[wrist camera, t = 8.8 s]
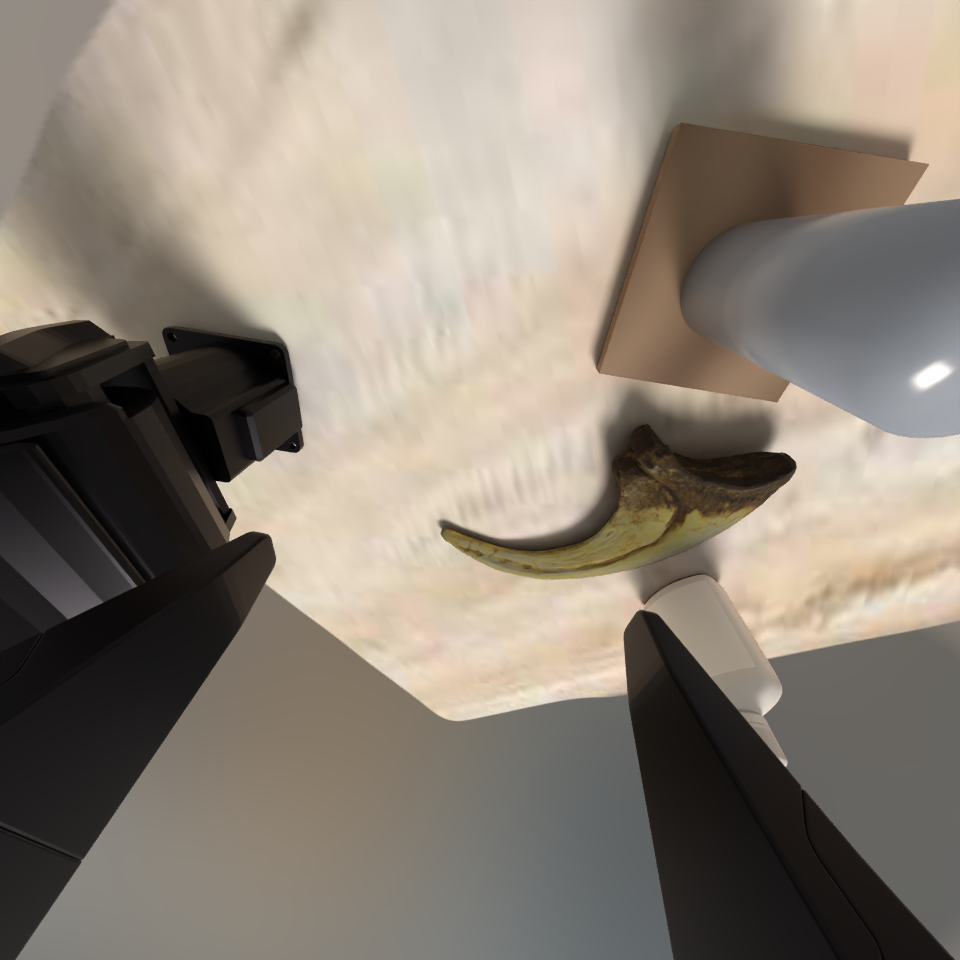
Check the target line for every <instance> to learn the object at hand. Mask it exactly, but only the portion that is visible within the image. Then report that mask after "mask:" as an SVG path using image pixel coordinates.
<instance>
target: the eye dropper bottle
mask: <svg viewBox="0 0 960 960" xmlns="http://www.w3.org/2000/svg"><path fill="white" fill-rule="evenodd" d="M644 610H645V611H650V612H654V613H657V614H658V615H659V616H660V617H661V618H662V619H663V620H664V622H665V623H666V624H667V625H668V626H669V628H670V629H671V630H672V631H673V632H674V634H675V635H676V636H677V637H678V638H679V640H680V641H681V642H682V643H683V644H684V646H685V647H686V648H687V649H688V650H689V652H690V653H691V654H692V655H693V656H694V658H695V659H696V660H697V661H698V662H699V664H700V665H701V666H702V667H703V668H704V670H705V671H706V672H707V673H708V674H709V676H710V677H711V678H712V679H713V680H714V682H715V683H716V684H717V685H718V686H719V688H720V689H721V690H722V691H723V692H724V694H725V695H726V696H727V697H728V698H729V700H730V701H731V702H732V703H733V704H734V706H735V707H736V708H737V709H738V710H739V712H740V713H741V714H742V715H743V716H744V718H745V719H746V720H747V721H748V722H749V724H750V725H751V726H752V727H753V728H754V730H755V731H756V732H757V733H758V734H759V736H760V737H761V738H762V739H763V740H764V742H765V743H766V744H767V745H768V746H769V748H770V749H771V750H772V751H773V752H774V754H775V755H776V756H777V757H778V758H779V760H780V761H781V762H782V763H783V764H784V766H785V767H786V766H787V763H788V762H787V759H786V757H785V755H784V753H783V752H782V750H781V748H780V746H779V744H778V742H777V740H776V738H775V736H774V735H773V733H772V731H771V729H770V727H769V725H768V723H767V721H766V720H765V718H764V717H763V715H764V714H766V713H767V712H768V711H769V710H770V709H771V708H772V707H773V706H774V705H775V704H776V703H777V702H778V700H779V699H780V697H781V695H782V686H781V683H780V681H779V679H778V677H777V675H776V674H775V672H774V670H773V669H772V667H771V665H770V664H769V662H768V660H767V658H766V657H765V655H764V653H763V652H762V650H761V648H760V647H759V645H758V644H757V642H756V640H755V639H754V637H753V635H752V634H751V632H750V630H749V629H748V627H747V626H746V624H745V622H744V621H743V619H742V617H741V616H740V614H739V613H738V611H737V609H736V608H735V606H734V604H733V603H732V601H731V599H730V598H729V596H728V595H727V593H726V591H725V590H724V588H723V587H722V586H721V585H720V584H719V583H717V582H716V581H715V580H714V579H713V578H711V577H710V576H707V575H696V576H692V577H688V578H685V579H682V580H679V581H676V582H674V583H672V584H670V585H668V586H666V587H664V588H663V589H661V590H660V591H658V592H657V593H656V594H655V595H653V596H652V597H651V598H650V599H649V600H648V601H647V603H646V604H645V608H644Z"/></svg>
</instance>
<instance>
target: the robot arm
mask: <svg viewBox="0 0 960 960" xmlns="http://www.w3.org/2000/svg"><path fill="white" fill-rule="evenodd" d="M162 334H163V338H164V341H165V344H166V347H167V350H168V352H169V355H170V356H167V357H163V358H160V359H157V360H154V359H153V357H155V354H154V352H153V350H152V348H151V346H150V344H149V343H148V341H126V340H123V339H115V337H114V335H109V334H108V333H106V332H105V331H104V330H102V329H101V328H99V327H98V326H97V325H95V324H94V323H92V322H91V321H89V320H74V321H67V322H61V323H55V324H49V325H42V326H36V327H31V328H26V329H21V330H17V331H13V332H9V333H6V334H4V335H1V336H0V960H16V958H17V957H18V955H19V954H20V952H21V951H22V949H23V948H24V946H25V944H26V943H27V942H28V940H29V939H30V937H31V936H32V935H33V933H34V932H35V930H36V929H37V927H38V926H39V924H40V923H41V921H42V920H43V918H44V917H45V915H46V914H47V912H48V911H49V910H50V908H51V907H52V905H53V904H54V902H55V900H56V899H57V898H58V896H59V895H60V893H61V892H62V890H63V889H64V887H65V886H66V884H67V883H68V882H69V880H70V878H71V877H72V876H73V874H74V873H75V871H76V870H77V868H78V867H79V865H80V863H81V860H82V859H84V857H85V856H86V854H87V853H88V851H89V850H90V848H91V847H92V846H93V844H94V842H95V841H96V840H97V838H98V837H99V835H100V834H101V832H102V831H103V829H104V828H105V827H106V825H107V824H108V822H109V821H110V819H111V818H112V816H113V815H114V813H115V812H116V810H117V809H118V807H119V806H120V804H121V803H122V801H123V800H124V799H125V797H126V796H127V794H128V793H129V791H130V790H131V788H132V787H133V785H134V784H135V782H136V781H137V779H138V778H139V776H140V775H141V774H142V772H143V771H144V769H145V768H146V766H147V765H148V763H149V762H150V760H151V759H152V757H153V756H154V754H155V753H156V752H157V750H158V749H159V747H160V746H161V744H162V743H163V741H164V740H165V738H166V737H167V735H168V734H169V732H170V731H171V729H172V728H173V726H174V725H175V724H176V722H177V721H178V719H179V718H180V716H181V715H182V713H183V712H184V710H185V709H186V707H187V706H188V704H189V703H190V702H191V700H192V699H193V697H194V696H195V694H196V693H197V691H198V690H199V688H200V687H201V685H202V683H203V682H204V681H205V679H206V678H207V677H208V675H209V674H210V672H211V670H212V669H213V668H214V666H215V665H216V663H217V661H218V660H219V659H220V657H221V656H222V654H223V653H224V651H225V650H226V648H227V647H228V646H229V644H230V643H231V641H232V640H233V638H234V637H235V635H236V634H237V632H238V631H239V629H240V628H241V626H242V624H243V623H244V621H245V619H246V617H247V616H248V614H249V612H250V610H251V608H252V607H253V605H254V603H255V601H256V599H257V597H258V595H259V594H260V592H261V590H262V588H263V586H264V585H265V583H266V581H267V579H268V577H269V575H270V573H271V572H272V570H273V568H274V566H275V562H276V555H275V551H274V547H273V543H272V539H271V537H270V536H269V535H268V534H265V533H260V532H248V533H246V534H244V535H242V536H240V537H238V538H236V539H234V540H232V541H230V542H229V537H230V531H231V529H232V527H233V525H234V523H235V520H236V516H235V514H234V512H233V510H232V509H231V508H229V507H228V505H227V503H226V501H225V499H224V497H223V495H222V493H221V491H220V489H219V487H218V485H217V483H216V481H221V482H230V481H231V480H232V479H234V478H235V477H236V476H237V475H238V474H240V473H241V472H242V471H243V470H245V469H246V468H247V467H248V466H250V465H251V464H252V463H253V462H254V461H259V462H260V461H262V460H263V459H265V458H266V457H267V456H268V455H269V454H271V453H272V452H273V451H274V450H280V451H287V452H293V453H297V452H299V451H300V450H301V449H302V448H303V446H304V443H303V437H302V431H301V428H302V420H301V413H300V407H299V401H298V395H297V389H296V387H295V385H294V382H293V376H292V370H291V364H290V358H289V353H288V350H287V349H286V347H285V346H283V345H282V344H280V343H276V342H270V341H263V340H257V339H251V338H245V337H239V336H232V335H226V334H220V333H214V332H208V331H202V330H195V329H189V328H183V327H177V326H171V327H167V328H164V329H163V331H162ZM173 334H174V335H175V336H176V337H177V339H176V338H175V337H174V335H173ZM275 350H277V351H278V352H279V353H280V357H278V356H277V355H276V353H275ZM292 442H293V443H295V444H296V446H294V445H293V444H292ZM624 650H625V664H626V678H627V691H628V702H629V709H630V716H631V721H632V727H633V732H634V738H635V744H636V749H637V755H638V761H639V767H640V772H641V778H642V784H643V789H644V794H645V801H646V806H647V811H648V817H649V823H650V829H651V835H652V840H653V846H654V851H655V857H656V863H657V868H658V874H659V880H660V885H661V891H662V896H663V902H664V907H665V913H666V919H667V925H668V931H669V936H670V942H671V948H672V953H673V958H674V960H955V959H954V958H953V957H952V956H951V955H950V954H949V953H948V952H947V951H946V949H945V948H944V947H943V946H942V945H941V944H940V943H939V942H938V941H937V940H936V939H935V937H934V936H933V935H932V934H931V933H930V932H929V931H928V930H927V929H926V928H925V926H924V925H923V924H922V923H921V922H920V921H919V920H918V919H917V918H916V917H915V916H914V915H913V913H912V912H911V911H910V910H909V909H908V908H907V907H906V906H905V905H904V904H903V902H901V900H900V899H899V898H898V897H897V896H896V895H895V894H894V892H893V891H892V890H891V889H890V888H889V887H888V886H887V885H886V884H885V882H884V881H883V880H882V879H881V878H880V877H879V876H878V875H877V873H876V872H875V871H874V870H873V869H872V868H871V867H870V866H869V865H868V863H867V862H866V861H865V860H864V859H863V858H862V857H861V856H860V854H859V853H858V852H857V851H856V850H855V849H854V847H853V846H852V845H851V844H850V843H849V842H848V841H847V839H846V838H845V837H844V836H843V835H842V833H841V832H840V831H839V830H838V829H837V828H836V826H835V825H834V824H833V823H832V822H831V821H830V819H829V818H828V817H827V816H826V815H825V814H824V812H823V811H822V810H821V809H820V808H819V806H818V805H817V804H816V803H815V802H814V800H813V799H812V798H811V797H810V796H809V794H808V793H807V792H806V791H805V790H803V789H801V785H800V784H799V783H798V781H797V780H796V779H795V778H794V777H793V775H792V774H791V773H790V772H789V770H788V769H787V768H786V767H785V766H784V764H783V763H782V762H781V761H780V760H779V758H778V757H777V756H776V755H775V754H774V752H773V751H772V750H771V749H770V748H769V746H768V745H767V744H766V743H765V742H764V740H763V739H762V738H761V737H760V736H759V734H758V733H757V732H756V731H755V730H754V728H753V727H752V726H751V725H750V724H749V722H748V721H747V720H746V719H745V718H744V716H743V715H742V714H741V713H740V712H739V710H738V709H737V708H736V707H735V706H734V704H733V703H732V702H731V701H730V700H729V698H728V697H727V696H726V695H725V694H724V692H723V691H722V690H721V689H720V688H719V686H718V685H717V684H716V683H715V682H714V680H713V679H712V678H711V677H710V676H709V674H708V673H707V672H706V671H705V670H704V668H703V667H702V666H701V665H700V664H699V662H698V661H697V660H696V659H695V658H694V656H693V655H692V654H691V653H690V652H689V650H688V649H687V648H686V647H685V646H684V644H683V643H682V642H681V641H680V640H679V638H678V637H677V636H676V635H675V634H674V632H673V631H672V630H671V629H670V628H669V626H668V625H667V624H666V623H665V622H664V620H663V619H662V618H661V617H660V616H659V615H658V614H657V613H654V612H650V611H645V610H639V611H637V612H636V614H635V615H634V617H633V618H632V620H631V621H630V623H629V624H628V626H627V627H626V629H625V631H624Z"/></svg>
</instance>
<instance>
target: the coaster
mask: <svg viewBox="0 0 960 960" xmlns="http://www.w3.org/2000/svg"><path fill="white" fill-rule="evenodd" d="M928 166H929V164H925V163H919V162H913V161H907V160H901V159H895V158H889V157H883V156H877V155H871V154H865V153H859V152H853V151H847V150H841V149H835V148H829V147H823V146H817V145H811V144H805V143H799V142H793V141H787V140H781V139H775V138H769V137H763V136H757V135H751V134H744V133H738V132H732V131H726V130H720V129H714V128H708V127H702V126H696V125H690V124H684V123H681V124H679V125H678V126H677V127H675V128H674V129H673V131H672V134H671V137H670V140H669V143H668V146H667V149H666V153H665V156H664V159H663V162H662V165H661V168H660V171H659V174H658V178H657V181H656V184H655V187H654V190H653V193H652V196H651V199H650V203H649V206H648V209H647V212H646V215H645V218H644V221H643V225H642V228H641V231H640V234H639V237H638V240H637V243H636V246H635V250H634V253H633V256H632V259H631V262H630V265H629V268H628V271H627V275H626V278H625V281H624V284H623V287H622V290H621V293H620V296H619V300H618V303H617V306H616V309H615V312H614V315H613V318H612V322H611V325H610V328H609V331H608V334H607V337H606V340H605V343H604V347H603V350H602V353H601V356H600V359H599V362H598V365H597V368H596V369H597V371H598V372H599V373H600V374H606V375H612V376H618V377H625V378H631V379H637V380H643V381H649V382H655V383H661V384H668V385H674V386H680V387H686V388H692V389H698V390H705V391H711V392H717V393H723V394H729V395H735V396H742V397H748V398H754V399H760V400H766V401H772V402H778V400H779V398H780V397H781V395H782V394H783V392H784V391H785V389H786V388H787V386H788V384H789V383H790V382H789V381H787V380H785V379H783V378H781V377H779V376H777V375H775V374H773V373H772V372H770V371H768V370H766V369H764V368H762V367H760V366H758V365H756V364H754V363H752V362H750V361H748V360H746V359H745V358H743V357H741V356H739V355H737V354H735V353H733V352H731V351H729V350H727V349H725V348H723V347H721V346H719V345H718V344H716V343H714V342H712V341H710V340H708V339H706V338H704V337H702V336H700V335H698V334H696V333H695V332H694V331H692V330H691V329H690V328H689V326H688V325H687V324H686V322H685V320H684V318H683V316H682V312H681V306H680V295H681V289H682V285H683V281H684V279H685V276H686V274H687V272H688V270H689V268H690V266H691V264H692V263H693V261H694V260H695V258H696V257H697V256H698V254H699V253H700V252H701V251H702V250H703V249H704V247H705V246H706V245H707V244H708V243H710V242H711V241H712V240H713V239H714V238H716V237H717V236H718V235H720V234H721V233H723V232H724V231H726V230H728V229H730V228H732V227H734V226H737V225H739V224H742V223H746V222H751V221H759V220H768V219H777V218H787V217H796V216H805V215H815V214H824V213H834V212H843V211H852V210H862V209H871V208H880V207H890V206H899V205H904V203H905V202H906V200H907V198H908V197H909V195H910V194H911V192H912V191H913V189H914V187H915V186H916V184H917V183H918V181H919V180H920V178H921V177H922V175H923V173H924V172H925V170H926V169H927V167H928Z"/></svg>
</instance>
